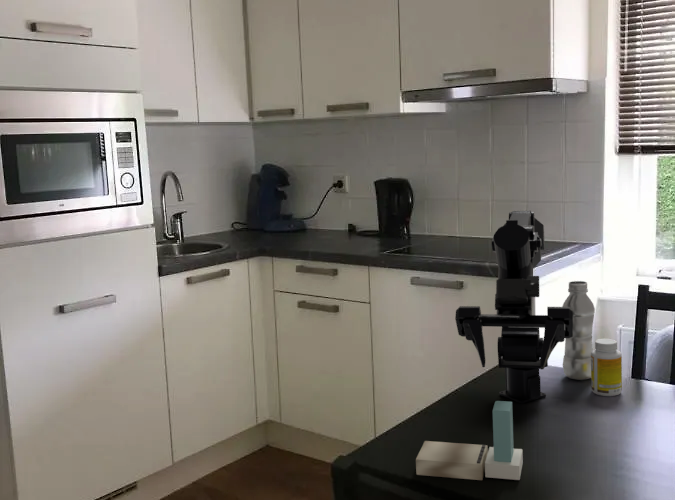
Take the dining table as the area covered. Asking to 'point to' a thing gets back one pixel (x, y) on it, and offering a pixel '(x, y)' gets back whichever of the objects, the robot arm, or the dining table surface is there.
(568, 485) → the dining table surface
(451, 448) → the beige flat block
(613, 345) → the supplement bottle
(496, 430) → the teal pillar on base
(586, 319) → the plastic bottle
